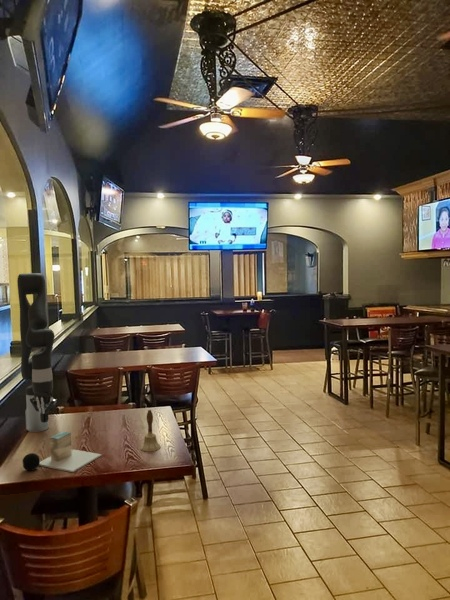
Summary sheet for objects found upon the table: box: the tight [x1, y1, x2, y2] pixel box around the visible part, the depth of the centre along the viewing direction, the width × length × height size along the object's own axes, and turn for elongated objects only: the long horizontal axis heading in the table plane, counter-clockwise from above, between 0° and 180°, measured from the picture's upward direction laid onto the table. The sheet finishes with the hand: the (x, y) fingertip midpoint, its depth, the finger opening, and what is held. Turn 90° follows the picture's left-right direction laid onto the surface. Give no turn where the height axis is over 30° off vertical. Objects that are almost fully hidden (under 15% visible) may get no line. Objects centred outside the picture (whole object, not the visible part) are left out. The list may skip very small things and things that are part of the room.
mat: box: [38, 449, 102, 473], centre depth 180 cm, size 18×16×1 cm
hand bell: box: [139, 409, 161, 453], centre depth 190 cm, size 8×8×16 cm
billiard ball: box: [22, 452, 41, 471], centre depth 172 cm, size 6×6×6 cm
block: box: [49, 431, 72, 461], centre depth 181 cm, size 4×7×9 cm, turn 156°
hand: (44, 421), depth 184 cm, fingers closed
